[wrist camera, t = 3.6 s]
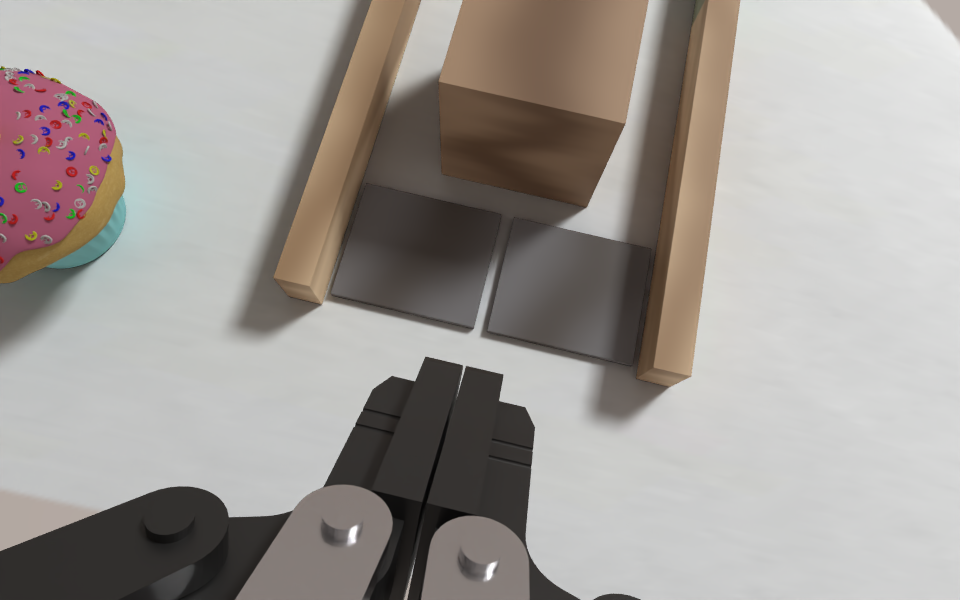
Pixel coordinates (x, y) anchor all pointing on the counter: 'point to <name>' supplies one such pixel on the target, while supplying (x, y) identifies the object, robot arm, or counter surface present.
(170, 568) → the robot arm
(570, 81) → the walnut block
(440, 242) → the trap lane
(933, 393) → the counter surface
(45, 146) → the cupcake
